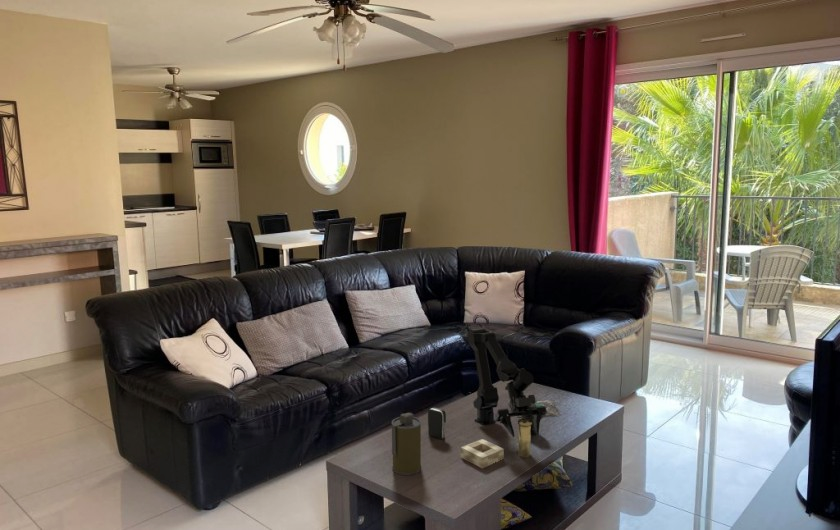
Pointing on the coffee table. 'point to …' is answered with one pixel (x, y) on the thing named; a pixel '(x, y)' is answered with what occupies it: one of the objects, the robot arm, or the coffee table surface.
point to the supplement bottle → (530, 417)
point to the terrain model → (548, 405)
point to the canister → (406, 444)
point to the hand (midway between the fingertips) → (525, 435)
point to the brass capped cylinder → (524, 437)
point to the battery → (436, 422)
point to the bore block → (482, 453)
